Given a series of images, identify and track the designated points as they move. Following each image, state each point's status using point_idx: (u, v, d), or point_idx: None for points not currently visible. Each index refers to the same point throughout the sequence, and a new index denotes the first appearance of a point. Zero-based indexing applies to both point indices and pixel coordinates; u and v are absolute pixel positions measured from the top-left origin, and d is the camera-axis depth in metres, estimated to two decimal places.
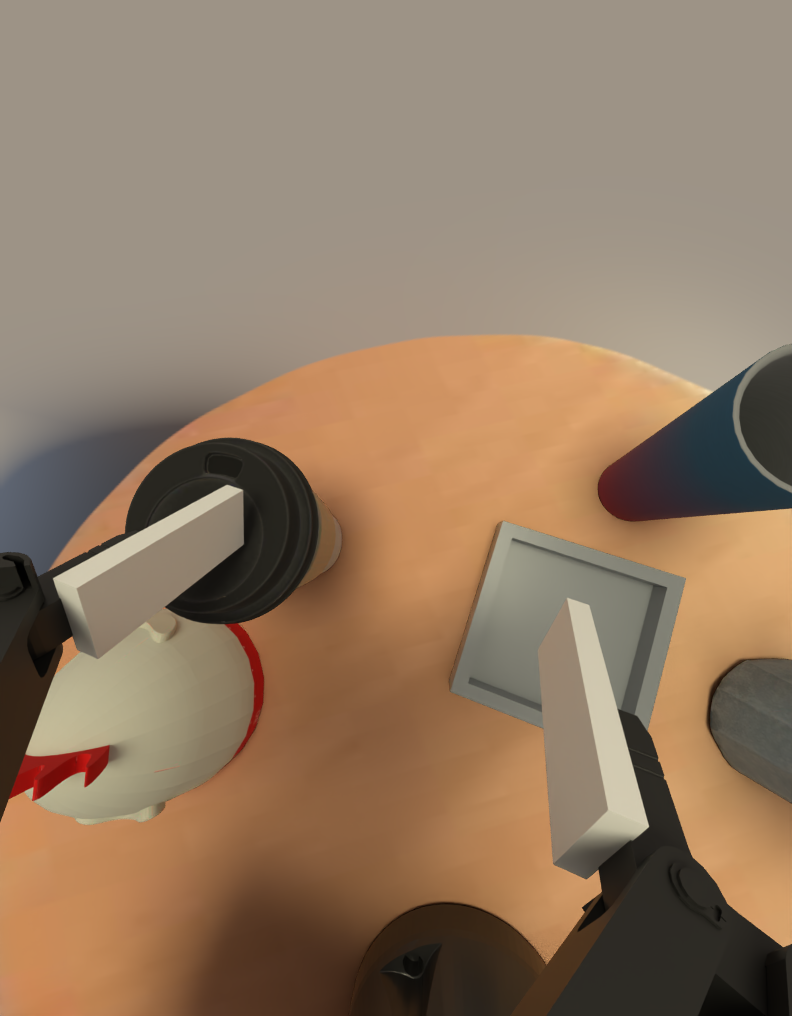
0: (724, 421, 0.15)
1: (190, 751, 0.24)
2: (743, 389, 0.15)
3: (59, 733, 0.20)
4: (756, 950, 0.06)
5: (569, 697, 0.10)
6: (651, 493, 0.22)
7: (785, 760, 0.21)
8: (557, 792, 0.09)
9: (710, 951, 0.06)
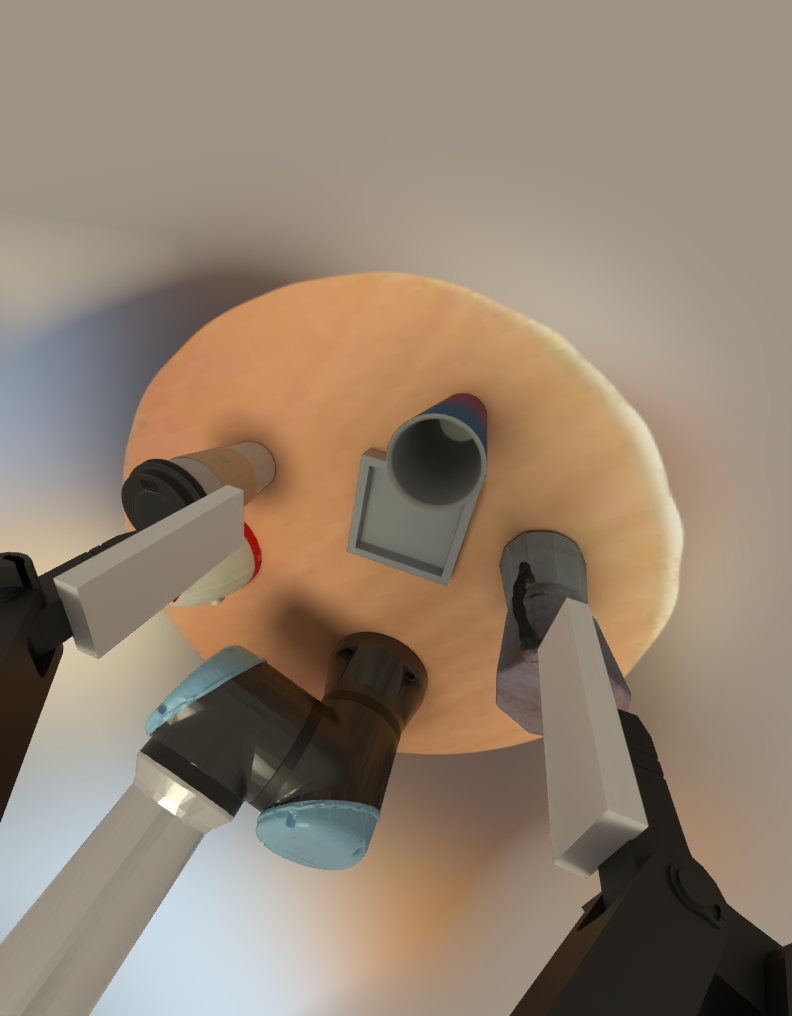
0: None
1: (221, 581, 0.48)
2: (392, 446, 0.25)
3: None
4: (755, 949, 0.06)
5: (569, 697, 0.10)
6: None
7: (505, 590, 0.38)
8: (556, 792, 0.09)
9: (710, 951, 0.06)
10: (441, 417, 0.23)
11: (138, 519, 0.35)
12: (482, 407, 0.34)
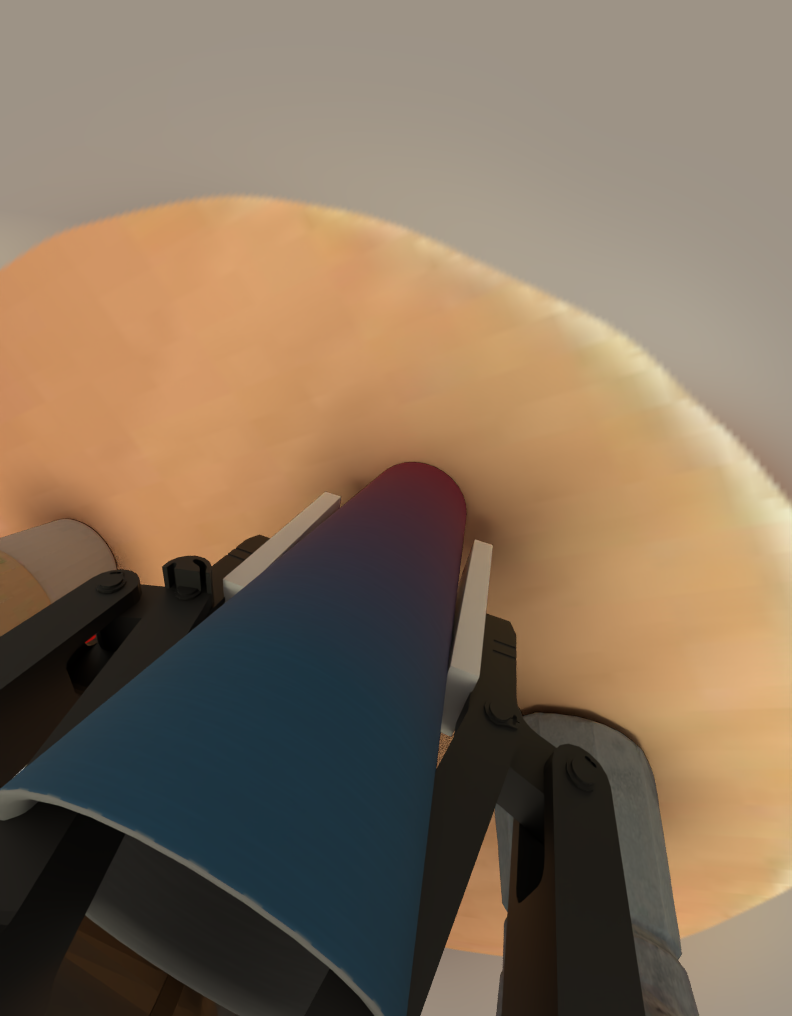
0: None
1: None
2: None
3: None
4: (543, 754, 0.08)
5: (457, 609, 0.12)
6: None
7: (499, 843, 0.19)
8: None
9: (510, 745, 0.08)
10: (130, 832, 0.04)
11: None
12: (452, 504, 0.15)
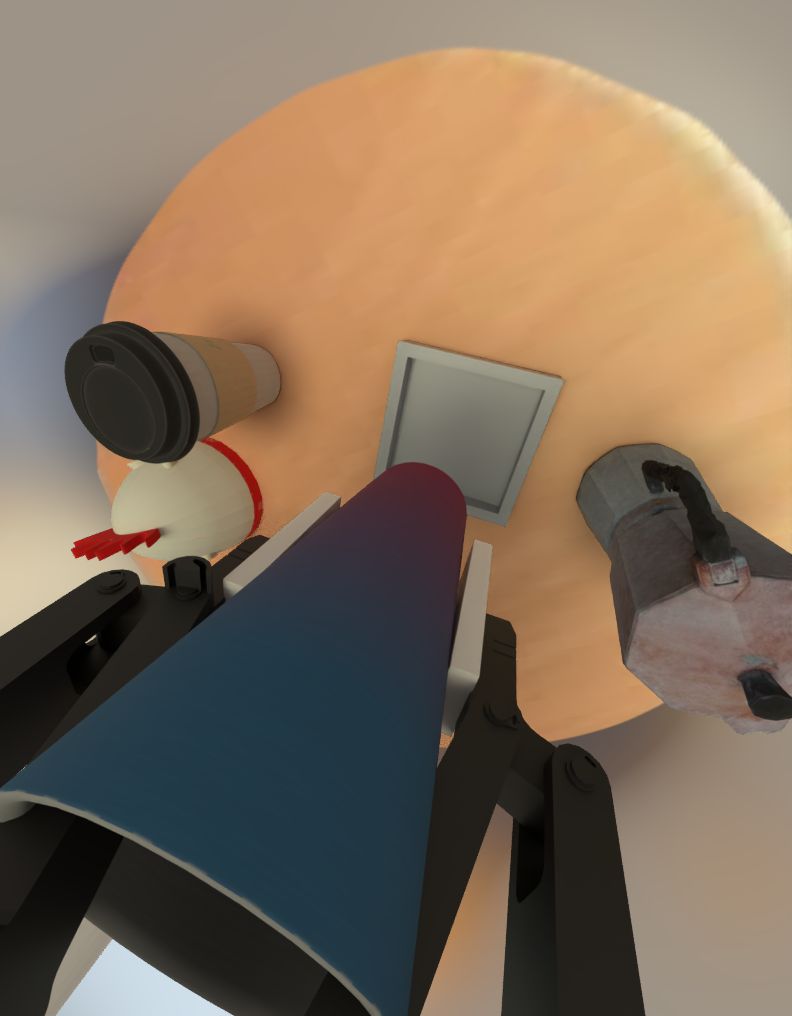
0: None
1: (212, 528, 0.38)
2: None
3: (127, 523, 0.34)
4: (543, 754, 0.08)
5: (457, 609, 0.12)
6: None
7: (596, 521, 0.28)
8: None
9: (510, 745, 0.08)
10: (127, 835, 0.04)
11: (91, 415, 0.25)
12: (452, 504, 0.15)
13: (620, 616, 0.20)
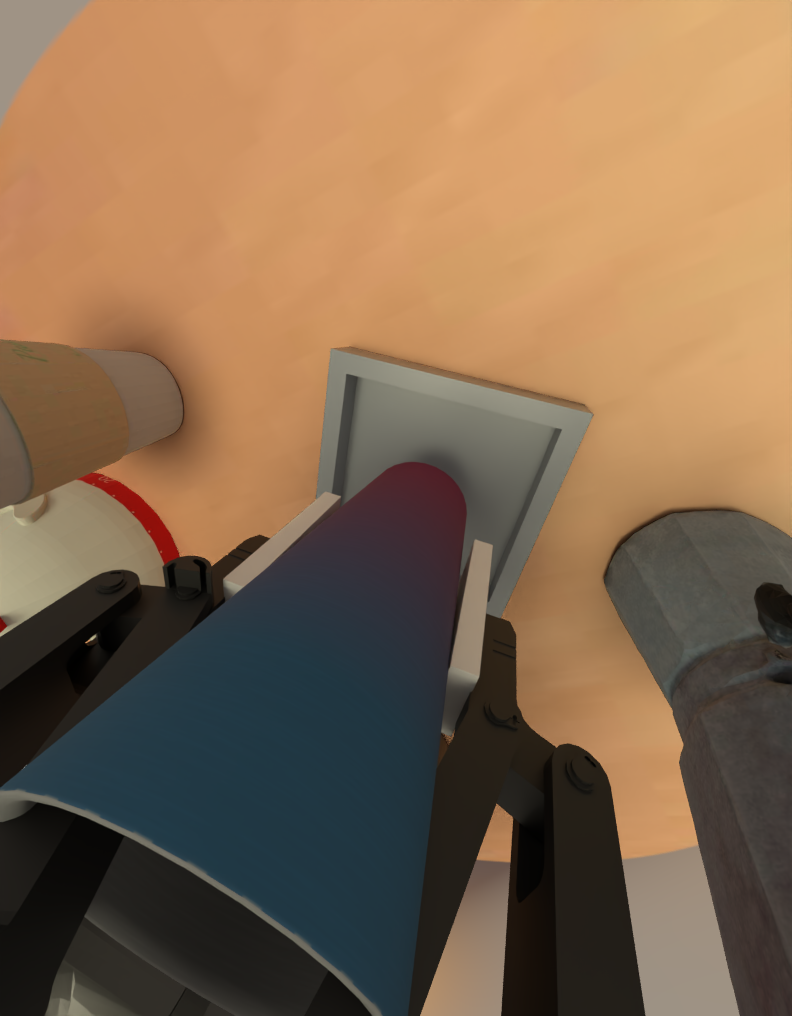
0: None
1: None
2: None
3: None
4: (543, 754, 0.08)
5: (457, 609, 0.12)
6: None
7: (643, 637, 0.17)
8: None
9: (510, 745, 0.08)
10: (127, 834, 0.04)
11: None
12: (452, 504, 0.15)
13: (730, 920, 0.10)
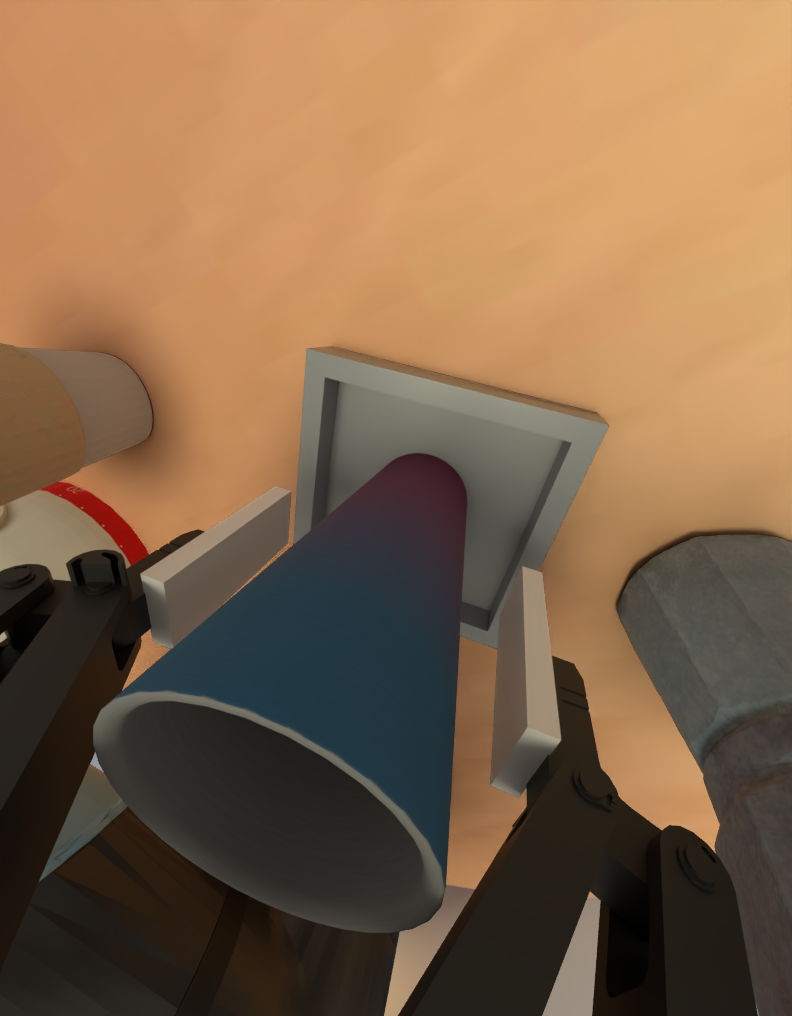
0: None
1: None
2: (107, 746, 0.07)
3: None
4: (642, 835, 0.07)
5: (514, 648, 0.11)
6: None
7: (666, 683, 0.15)
8: (498, 728, 0.10)
9: (603, 830, 0.07)
10: (235, 714, 0.05)
11: None
12: (455, 490, 0.16)
13: None
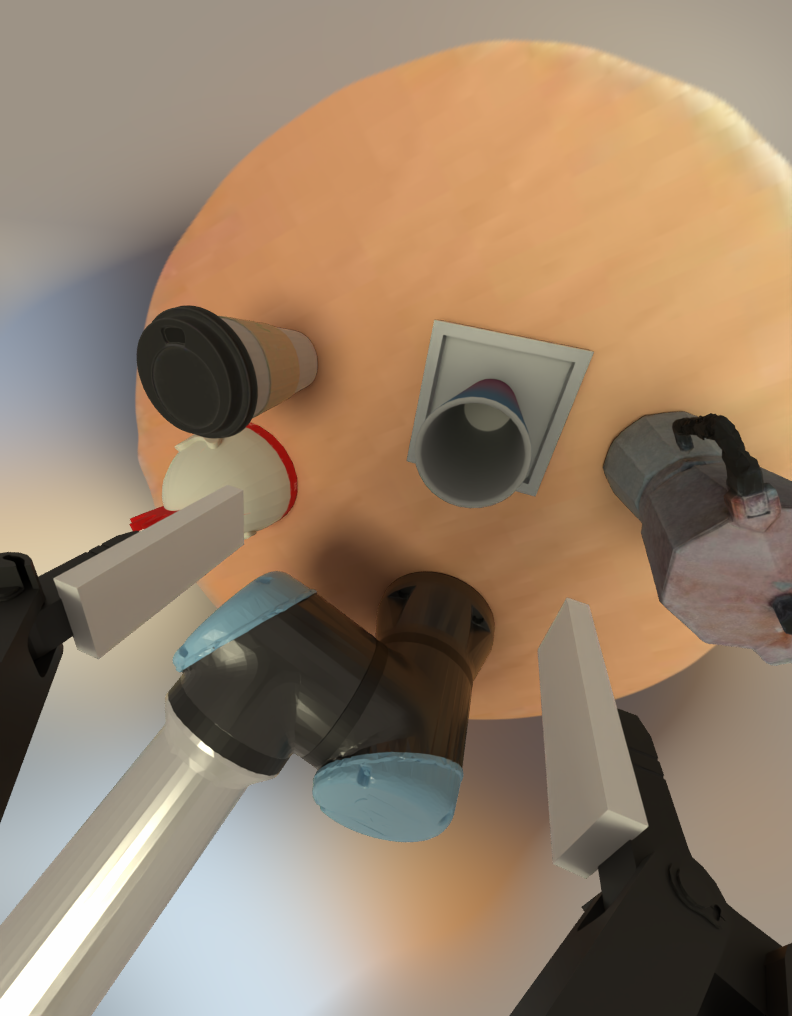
0: None
1: (254, 505, 0.40)
2: (421, 435, 0.22)
3: (179, 499, 0.37)
4: (755, 949, 0.06)
5: (569, 697, 0.10)
6: None
7: (625, 484, 0.30)
8: (557, 792, 0.09)
9: (710, 951, 0.06)
10: (479, 401, 0.20)
11: (159, 394, 0.27)
12: (513, 392, 0.31)
13: (655, 561, 0.22)
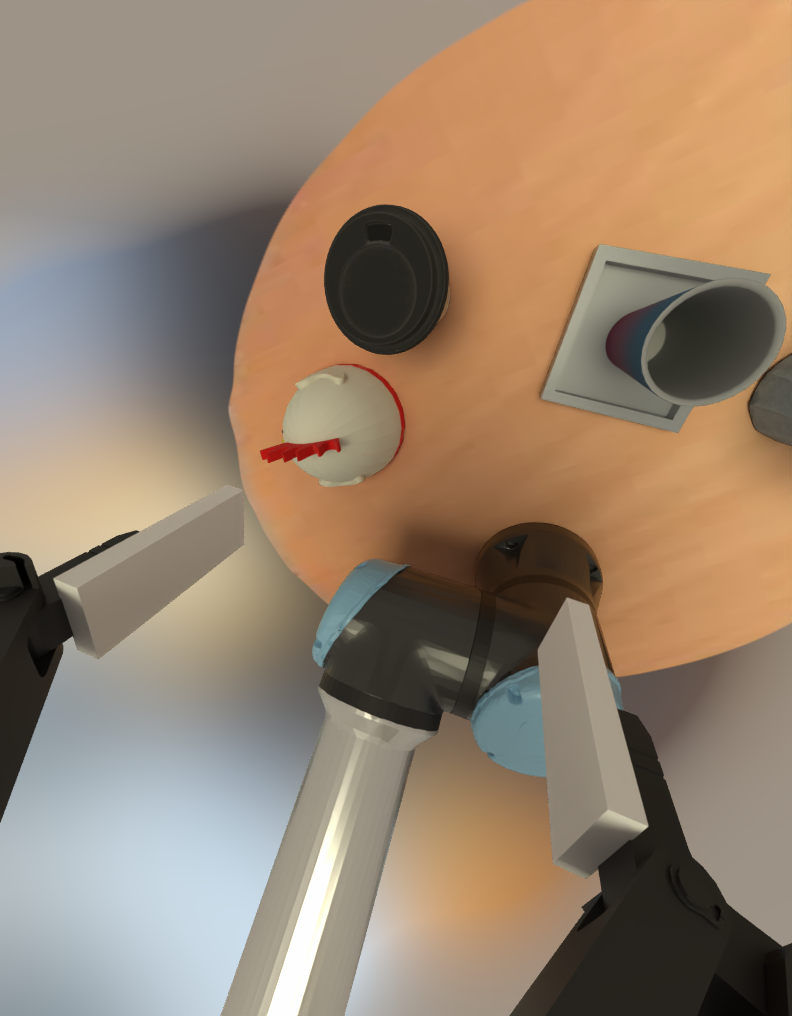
0: (640, 349, 0.23)
1: (375, 445, 0.40)
2: (656, 326, 0.21)
3: (312, 432, 0.36)
4: (755, 949, 0.06)
5: (569, 697, 0.10)
6: (622, 367, 0.29)
7: None
8: (557, 792, 0.09)
9: (709, 951, 0.06)
10: (736, 283, 0.20)
11: (343, 301, 0.27)
12: None
13: None
